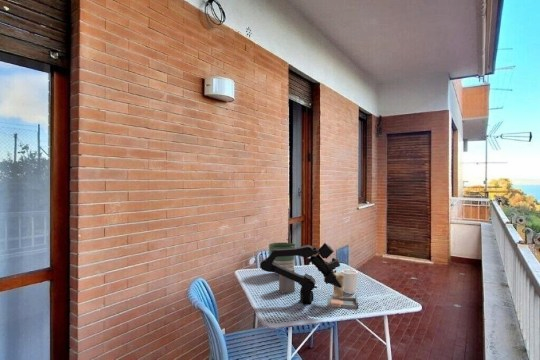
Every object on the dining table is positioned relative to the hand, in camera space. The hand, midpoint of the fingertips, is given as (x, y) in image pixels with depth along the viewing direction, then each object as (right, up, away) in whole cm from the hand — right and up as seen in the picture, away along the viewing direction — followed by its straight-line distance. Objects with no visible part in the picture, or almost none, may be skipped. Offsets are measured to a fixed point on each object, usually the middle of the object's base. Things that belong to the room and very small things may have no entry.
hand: (341, 285), depth 173 cm
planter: (-30, -11, +59) cm, 67 cm away
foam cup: (+9, -11, +18) cm, 23 cm away
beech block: (-1, -6, 0) cm, 6 cm away
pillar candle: (-28, -11, +24) cm, 38 cm away
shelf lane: (+1, -10, 0) cm, 10 cm away
